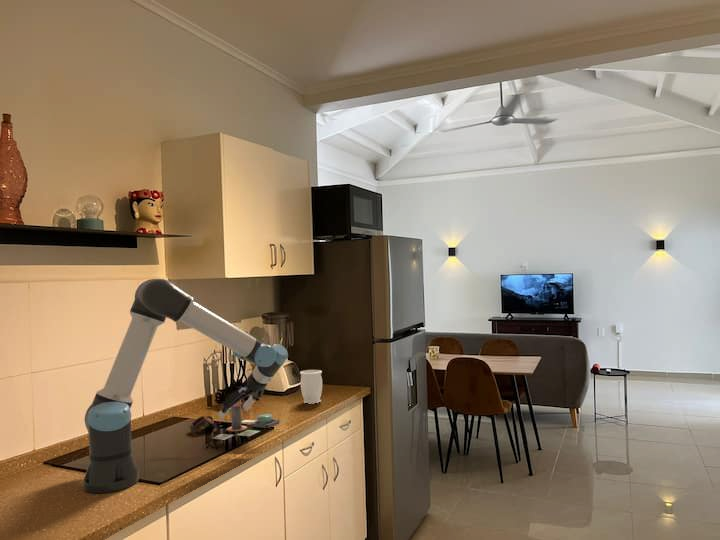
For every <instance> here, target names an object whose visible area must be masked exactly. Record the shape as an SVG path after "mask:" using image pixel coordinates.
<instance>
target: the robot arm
mask: <svg viewBox="0 0 720 540" xmlns="http://www.w3.org/2000/svg"><path fill="white" fill-rule="evenodd" d="M132 302H133V303H132V305H131V307H130V310H129V314H130V316H131V320H130V323H129V325H128V328H127V331H126V333H125V335H124V337H123V339H122V342H121V345H120V347H119V350H118V353H117V354H116V357H115V360H114V362H113V364H112V367H111V369H110V372H109V374H108V377H107V379H106V381H105V384H104V386H103V388H101V389H100V390H97V391H96V392H95V393H96V394H94V395H95V396H94V398H93V401H92V402H91V404H90V405H89V406H88V408H87V409H86V411H85V415H84V423H85V424H84V425H85V428H86V430H87V432H88V447H89V448H88V450H89V451H88V453H89V462H88V465H87V469H86V472H85V476H84V478H83V490H84V491H85V492H86V493H91V494H105V493H112V492H118V491H121V490H124V489H126V488H129V487H131V486H133V485H135V484H137V482H138V481H139V479H140V472H139V469H138V466H137V464H136V461H135V459H134V457H133V451H132V450H133V447H132V446H133V445H132V444H133V443H132V422H131V421H132V420H131V419H132V412H131V408H132V405H133V403H134V400H133V398H132V396H131V395H132V392H133V390H134V388H135V385H136V382H137V380H138V377H139V374H140V372H141V369H142V367H143V364H144V363H145V361H146V360H145V359H146V357H147V354H148V353H149V350H150V347H151V344H152V342H153V339H154V338H155V334H156V332H157V329H158V327H159V326H162V325H163V324H165V322H166V320H167V319H170V320H171V321H173V322H175V323H179V322H182V323H183V324H185V325H187V326H188V327H190V328H191V329H193V330H195V331H197V332H199V333H200V334H202V335H205V337H208V338H209V339H211V340H212V341H215V342H217V343H218V344H220V345H222V347H223V346H224V347H225V348H228V349H229V350H231V351H232V355H233V356H234V357H236V358H238V359H239V360H243V361H245V362H249V363H251V364H253V365H256V366H255V367H254V369H253V370H252V372H250V374H249V375H248V377H247V379H246V381H247V382H246V384H245V385H244V387H243V386H240V387H238V388H237V389H236V390H235V391H234V392H233V393H231V395H229V396H228V397H227V398H226V399H225V400H224V401H222V403H221V404H222V406H223V407H222V408H221V409H220V411H219V412H218V414H217V415H218V416H219V418H220V420H224V418H225V417H226V416H227V415H228V413H229V412H230V411H231V407H232V406H233V405H235V404H236V403H237V402H239V401H240V400H241V401H242V399H246V398H247V397H248V396H249V397H248V398H247V400H246V401H245V402H244V404H243V405H242V408H243V409H244V411H245V412H248V411H249V410H250V408H251V407H252V406H253V405H254V403H255V402H259V401H260V399H261V398H262V397H263V395H264V391H265V388H266V387H267V385H268V383H269V382H271V381H272V379H273V377H274V376H275V374H277V373H278V371H279V370H280V368H281V367H282V366H283V365H284V363H286V361H287V359H288V358H289V353H288V350H287V349H286V347H284V346H283V345H281V344H279V343H277V344H276V343H274V344H272V345H270V344H267V343H264V342H262V341H260V340H259V339H257V338H256V337H254V336H252V335H251V334H249V333H247V332H245V331H244V330H242V329H241V328H240V327H237V326H236V325H234V324H232V323H231V322H229V321H227V320H226V319H224V318H222V317H221V316H219V315H217V314H216V313H214V312H212V311H210V310H208V309H207V308H205V307H204V306H202V305H201V304H199V303H197V302H195V301H194V297H193V296H191V295H190V294H188V293H187V292H185V291H184V290H183V289H181V288H180V287H178V286H177V285H176V284H174V283H173V282H171V281H170V280H168V279H164V278H152V279H148V280H146V281H143V282H142V283H141V284H140V285H139V286H138V287H137V288H136V290H135V292H134V301H132Z"/></svg>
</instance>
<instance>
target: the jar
mask: <svg viewBox="0 0 720 540" xmlns="http://www.w3.org/2000/svg"><path fill="white" fill-rule="evenodd" d="M322 373H323V371H322V370H320V369H306V370H301V371H300V373H299V374H300V375H301V376H300V389H301V394H302V398H303V402H304V403H303V404H305V403H308V404H307V405H315V403H317V404H319V402H320V403H321V402H322V400H321V399H320V398H321V396H322V392H323V378H322Z"/></svg>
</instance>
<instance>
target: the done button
mask: <svg viewBox="0 0 720 540" xmlns="http://www.w3.org/2000/svg"><path fill="white" fill-rule="evenodd" d="M273 419H274V418H273V414H271V413H270V414H269V413H267V414H266V413H265V414H259V415H257V419H256V421H258V423H259V424H269V423H271V422H272V421H273Z"/></svg>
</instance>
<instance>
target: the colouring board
mask: <svg viewBox="0 0 720 540" xmlns="http://www.w3.org/2000/svg"><path fill="white" fill-rule="evenodd" d="M272 419H273V421H272V422H268V423H258V421H257V420H254V419H253V420H251V419H244V420H242V423H250V427H252V428H259V429H260V428H263V429H269V428H272V427H274V426H276V425H278V424H280V419H276V418H272ZM247 428H248V427H247V426H246V425H242V428H241V429H238V430H233V429H232V426H229V427H227V428H226V431H227V432H239V433H238V434H236V436H243V437H251V436H253V435H255V434H257V433H260V432H261V430H254V429H253V430H252V429H247ZM240 431H241V432H240ZM234 436H235V434H228V433H221V434H218V435H216V436H213V437H211V439H214V440H223V441H225V440H227V439H230V438H233V437H234Z"/></svg>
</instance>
